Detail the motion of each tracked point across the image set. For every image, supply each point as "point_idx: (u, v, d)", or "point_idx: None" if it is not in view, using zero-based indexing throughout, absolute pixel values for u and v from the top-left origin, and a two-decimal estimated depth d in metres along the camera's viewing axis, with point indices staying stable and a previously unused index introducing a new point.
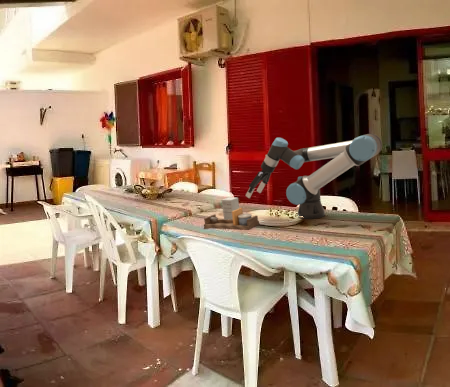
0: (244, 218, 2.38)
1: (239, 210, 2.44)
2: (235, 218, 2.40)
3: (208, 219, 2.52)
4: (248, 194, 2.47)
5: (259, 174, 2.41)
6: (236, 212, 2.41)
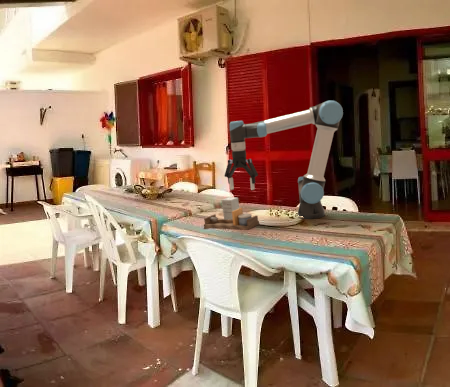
0: (244, 218, 2.38)
1: (239, 210, 2.44)
2: (235, 218, 2.40)
3: (208, 219, 2.52)
4: (253, 186, 2.35)
5: (250, 160, 2.33)
6: (236, 212, 2.41)
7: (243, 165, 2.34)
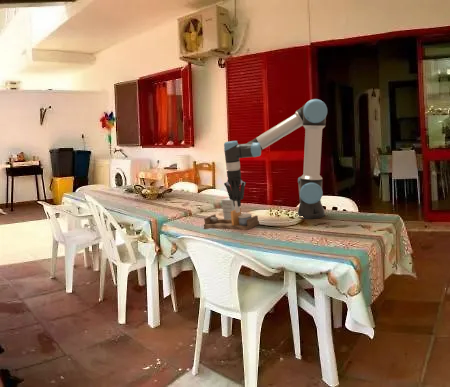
0: (244, 218, 2.38)
1: None
2: (234, 218, 2.41)
3: (208, 219, 2.52)
4: (238, 209, 2.42)
5: (244, 184, 2.37)
6: (234, 212, 2.41)
7: (236, 186, 2.38)
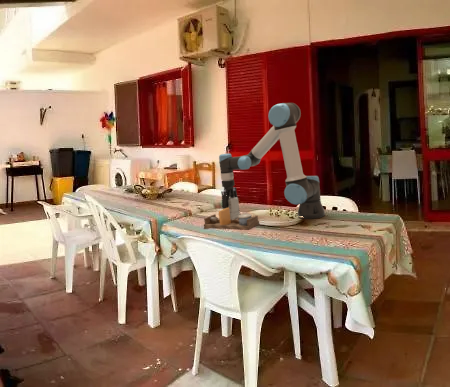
0: (244, 218, 2.38)
1: (226, 210, 2.49)
2: (222, 218, 2.45)
3: (208, 219, 2.52)
4: None
5: None
6: (222, 212, 2.46)
7: (234, 192, 2.65)
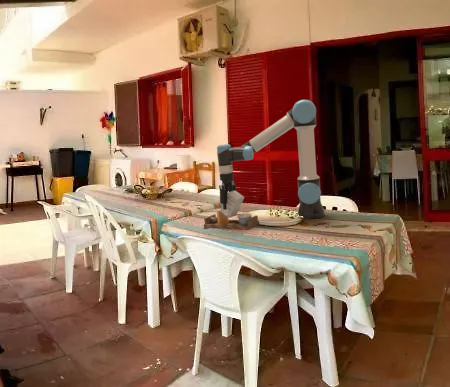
0: (244, 218, 2.38)
1: None
2: (220, 218, 2.46)
3: (208, 219, 2.52)
4: None
5: None
6: (221, 212, 2.46)
7: (232, 187, 2.45)
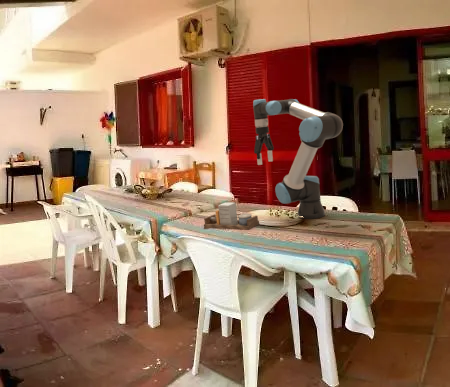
0: (244, 218, 2.38)
1: None
2: (219, 217, 2.46)
3: (208, 219, 2.52)
4: None
5: None
6: None
7: (268, 139, 2.58)
